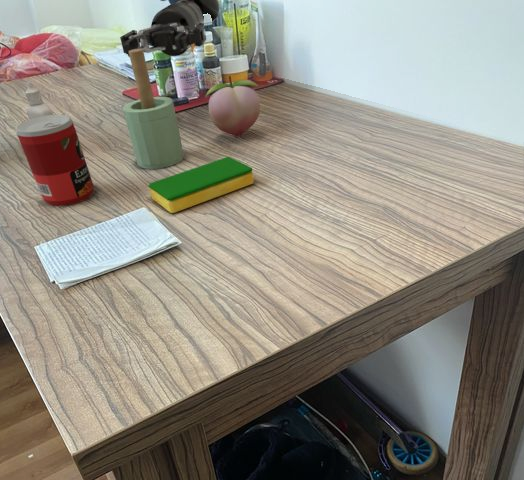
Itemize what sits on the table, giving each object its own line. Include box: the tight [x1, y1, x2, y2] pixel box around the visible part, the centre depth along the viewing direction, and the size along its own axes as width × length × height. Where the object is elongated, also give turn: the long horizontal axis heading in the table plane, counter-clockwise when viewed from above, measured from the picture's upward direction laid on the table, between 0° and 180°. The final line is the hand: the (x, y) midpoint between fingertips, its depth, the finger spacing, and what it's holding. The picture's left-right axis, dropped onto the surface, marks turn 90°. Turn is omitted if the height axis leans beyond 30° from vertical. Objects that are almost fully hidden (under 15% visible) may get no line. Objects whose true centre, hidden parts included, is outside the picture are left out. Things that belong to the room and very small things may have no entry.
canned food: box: [15, 114, 95, 207], centre depth 76 cm, size 8×8×11 cm
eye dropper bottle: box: [24, 81, 54, 120], centre depth 93 cm, size 4×6×12 cm
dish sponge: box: [148, 156, 255, 214], centre depth 75 cm, size 7×14×2 cm, turn 124°
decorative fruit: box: [204, 75, 262, 137], centre depth 90 cm, size 9×8×10 cm
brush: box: [128, 49, 156, 109], centre depth 82 cm, size 3×3×16 cm
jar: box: [122, 96, 185, 170], centre depth 85 cm, size 8×8×9 cm
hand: (153, 47), depth 84 cm, fingers open, 8 cm apart
